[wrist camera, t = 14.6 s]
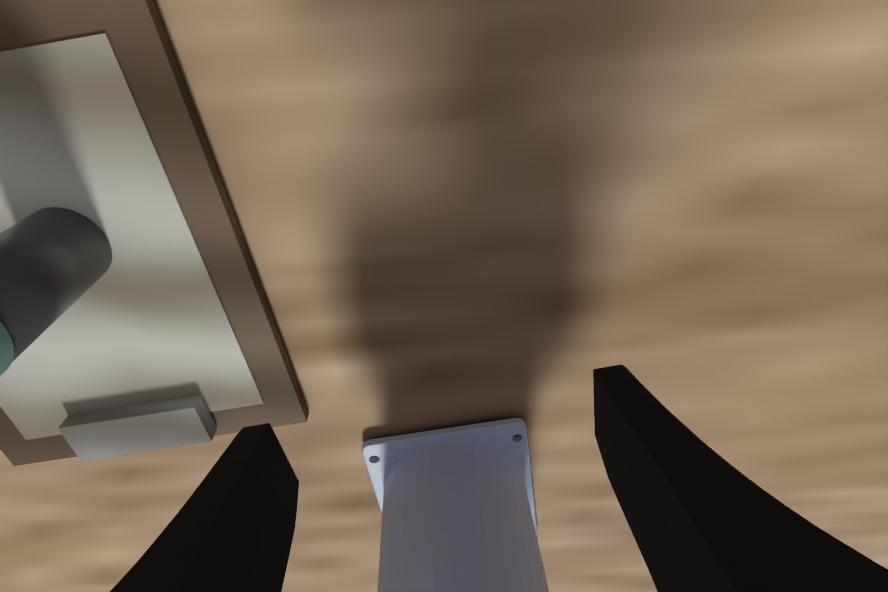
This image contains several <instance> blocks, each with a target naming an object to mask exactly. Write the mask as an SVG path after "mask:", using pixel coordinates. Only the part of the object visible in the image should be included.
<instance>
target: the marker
mask: <svg viewBox="0 0 888 592" xmlns="http://www.w3.org/2000/svg"><path fill="white" fill-rule="evenodd" d="M111 262H112V249H111V246H110V243H109V241H108V239H107V237H106V235H105V234H104V233H103V231H102V230H101V229H100V228H99V227H98V226H97V225H96V224H95V223H94V222H93V221H91V220H90V219H89V218H87V217H85V216H84V215H82V214H80V213H78V212H76V211H73V210H70V209H66V208H60V207H48V208H43V209H40V210H37V211H36V212H34V213H32V214H31V215H29V216H27V217H26V218H24V219H23V220H21V221H19V222H18V223H16V224H14V225H13V226H11V227H10V228H8V229H6V230H5V231H3V232H2V233H0V376H1V375H2V374H3V373H4V372H5V371H6V370H7V369H8V368H9V367H10V365H11V363H12V362H13V361H14V360H15V359H16V358H17V357H18V356H19V355H20V354H21V353H22V352H23V351H24V350H25V349H26V348H28V347H29V346H30V345H31V344H32V343H33V342H34V341H35V340H36V339H37V338H38V337H39V336H40V335H41V334H42V333H43V332H44V331H45V330H46V329H47V328H48V327H49V326H51V325H52V324H53V323H54V322H55V321H56V320H57V319H58V318H59V317H60V316H61V315H62V314H63V313H64V312H65V311H66V310H67V309H68V308H69V307H70V306H71V305H72V304H73V303H75V302H76V301H77V300H78V299H79V298H80V297H81V296H82V295H83V294H84V293H85V292H86V291H87V290H88V289H89V288H90V287H91V286H92V285H93V284H94V283H95V282H96V281H98V280H99V279H100V278H101V277H102V276H103V275H104V274H105V273H106V272H107V271H108V269H109V267H110V265H111Z"/></svg>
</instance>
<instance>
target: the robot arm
mask: <svg viewBox="0 0 888 592" xmlns="http://www.w3.org/2000/svg"><path fill="white" fill-rule="evenodd" d="M593 378H594V417H595V436H596V440H597V443H598V446H599V449H600V453H601V456H602V459H603V462H604V466H605V469H606V472H607V475H608V478H609V480H610V483H611V485H612V487H613V490H614V492H615V494H616V497H617V499H618V501H619V504H620V506H621V508H622V510H623V513H624V515H625V517H626V520H627V522H628V524H629V526H630V529H631V531H632V533H633V535H634V538H635V540H636V542H637V544H638V547H639V549H640V551H641V554H642V556H643V558H644V560H645V563H646V565H647V567H648V569H649V572H650V574H651V576H652V579H653V581H654V584H655V586H656V589H657V591H658V592H888V569H886V568H884V567H882V566H881V565H879V564H877V563H876V562H874V561H872V560H871V559H869V558H867V557H866V556H864V555H862V554H861V553H859V552H857V551H856V550H854V549H853V548H851V547H849V546H848V545H846V544H844V543H843V542H841V541H839V540H838V539H836V538H834V537H833V536H831V535H830V534H828V533H826V532H825V531H823V530H821V529H820V528H818V527H817V526H815V525H814V524H812V523H811V522H809V521H808V520H806V519H805V518H803V517H802V516H800V515H799V514H797V513H796V512H794V511H793V510H791V509H790V508H788V507H787V506H785V505H784V504H783V503H781V502H780V501H778V500H777V499H776V498H774V497H773V496H771V495H770V494H769V493H767V492H766V491H764V490H763V489H762V488H760V487H759V486H758V485H756V484H755V483H754V482H752V481H751V480H750V479H748V478H747V477H746V476H744V475H743V474H742V473H741V472H739V471H738V470H737V469H735V468H734V467H733V466H732V465H730V464H729V463H728V462H727V461H726V460H724V459H723V458H722V457H721V456H719V455H718V454H717V453H716V452H714V451H713V450H712V449H711V448H710V447H709V446H707V445H706V444H705V443H704V442H703V441H702V440H700V439H699V438H698V437H697V436H696V435H695V434H694V433H693V432H692V431H690V430H689V429H688V428H687V427H686V426H685V425H684V424H683V423H682V422H680V421H679V420H678V419H677V418H676V417H675V416H674V415H673V414H672V413H671V412H670V411H669V410H667V409H666V408H665V407H664V406H663V405H662V404H661V403H660V402H659V401H658V400H657V399H656V398H655V397H654V396H653V395H652V394H651V393H650V392H649V391H648V390H647V389H646V388H645V387H644V386H643V385H642V384H641V383H640V382H639V381H638V380H637V378H636V377H635V376H634V375H633V374H632V373H631V372H630V371H629V370H628V369H627V368H626V367H624V366H623V365H616V366H610V367H604V368H598V369H593ZM517 434H519V436H514V435H517ZM362 454H363V458H364V461H365V464H366V467H367V470H368V473H369V476H370V479H371V482H372V485H373V488H374V491H375V494H376V498H377V501H378V504H379V507H380V510H381V513H382V526H381V543H380V560H379V577H378V592H549V589H548V585H547V580H546V576H545V571H544V567H543V562H542V558H541V553H540V549H539V544H538V536H537V526H536V516H535V506H534V496H533V486H532V476H531V466H530V456H529V446H528V437H527V428H526V424H525V421H523V420H522V419H520V418H511V419H505V420H498V421H491V422H485V423H478V424H471V425H464V426H458V427H451V428H444V429H437V430H431V431H424V432H417V433H411V434H404V435H397V436H390V437H384V438H377V439H370V440H367V441H365V442H364V443H363V445H362ZM372 456H378V457H372ZM298 487H299V481H298V479H297V477H296V475H295V473H294V471H293V469H292V467H291V465H290V463H289V461H288V459H287V457H286V455H285V453H284V451H283V449H282V447H281V445H280V443H279V441H278V439H277V437H276V435H275V433H274V431H273V429H272V427H271V425H270V423H266V424H260V425H254V426H248V427H243V428H242V429H241V431H240V432H239V433H238V434H237V436H236V437H235V438H234V440H233V441H232V442H231V444H230V445H229V446H228V448H227V449H226V450H225V452H224V453H223V454H222V456H221V457H220V458H219V460H218V461H217V462H216V464H215V465H214V466H213V468H212V469H211V470H210V472H209V473H208V474H207V476H206V477H205V478H204V480H203V481H202V482H201V484H200V485H199V486H198V488H197V489H196V490H195V492H194V493H193V494H192V495H191V497H190V498H189V499H188V501H187V502H186V503H185V505H184V506H183V507H182V508H181V510H180V511H179V512H178V514H177V515H176V516H175V517H174V518H173V520H172V521H171V522H170V523H169V524H168V526H167V527H166V528H165V529H164V530H163V532H162V533H161V534H160V535H159V537H158V538H157V539H156V540H155V541H154V543H153V544H152V545H151V546H150V547H149V549H148V550H147V551H146V552H145V553H144V555H143V556H142V557H141V558H140V559H139V560H138V561H137V563H136V564H135V565H134V566H133V567H132V568H131V569H130V570H129V572H128V573H127V574H126V575H125V576H124V577H123V578H122V579H121V580H120V581H119V583H118V584H117V585H116V586H115V587H114V588H113V589H112V590H111V591H110V592H281V590H282V586H283V581H284V576H285V572H286V567H287V563H288V558H289V553H290V549H291V544H292V539H293V534H294V529H295V521H296V512H297V500H298Z"/></svg>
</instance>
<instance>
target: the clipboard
mask: <svg viewBox="0 0 888 592" xmlns="http://www.w3.org/2000/svg"><path fill="white" fill-rule="evenodd" d="M48 207H60V208H66V209H70V210H73V211H76V212H78V213H80V214H82V215H84V216H85V217H87V218H89V219H90V220H91V221H93V222H94V223H95V224H96V225H97V226H98V227H99V228H100V229H101V230H102V231H103V233H104V234H105V235H106V237H107V239H108V241H109V243H110V246H111V249H112V262H111V265H110V267H109V269H108V271H107V272H106V273H105V274H104V275H103V276H102V277H101V278H100V279H99V280H98V281H96V282H95V283H94V284H93V285H92V286H91V287H90V288H89V289H88V290H87V291H86V292H85V293H84V294H83V295H82V296H81V297H80V298H79V299H78V300H77V301H76V302H75V303H73V304H72V305H71V306H70V307H69V308H68V309H67V310H66V311H65V312H64V313H63V314H62V315H61V316H60V317H59V318H58V319H57V320H56V321H55V322H54V323H53V324H52V325H51V326H49V327H48V328H47V329H46V330H45V331H44V332H43V333H42V334H41V335H40V336H39V337H38V338H37V339H36V340H35V341H34V342H33V343H32V344H31V345H30V346H29V347H28V348H26V349H25V350H24V351H23V352H22V353H21V354H20V355H19V356H18V357H17V358H16V359H15V360H14V361H13V362H12V363H11V365H10V367H9V368H8V369H7V370H6V371H5V372H4V373H3V374H2V375H1V376H0V449H1V450H2V452H3V453H4V454H5V455H6V457H7V458H8V459H9V460H10V462H11V463H12V464H13V465H14V466H17V465H23V464H30V463H37V462H43V461H50V460H57V459H63V458H70V457H77V456H78V458H79V459H80V460H81V461H84V460H90V459H97V458H104V457H110V456H117V455H124V454H130V453H137V452H144V451H150V450H157V449H164V448H170V447H177V446H183V445H190V444H197V443H203V442H210V441H212V439H213V437H214V436H216V435H223V434H229V433H236V432H240V431H241V429H242V428H243V427H248V426H254V425H260V424H266V423H270V425H271V427H276V426H283V425H289V424H296V423H303V422H307V419H308V415H309V412H308V409H307V406H306V404H305V401H304V398H303V396H302V393H301V390H300V388H299V385H298V383H297V380H296V377H295V375H294V372H293V369H292V367H291V364H290V361H289V359H288V356H287V353H286V351H285V348H284V345H283V343H282V340H281V337H280V335H279V332H278V329H277V327H276V324H275V321H274V319H273V316H272V313H271V311H270V308H269V305H268V303H267V300H266V297H265V295H264V292H263V289H262V287H261V284H260V281H259V279H258V276H257V273H256V271H255V268H254V265H253V263H252V260H251V257H250V255H249V252H248V250H247V247H246V244H245V242H244V239H243V236H242V234H241V231H240V228H239V226H238V223H237V220H236V218H235V215H234V212H233V210H232V207H231V204H230V202H229V199H228V196H227V194H226V191H225V188H224V186H223V183H222V180H221V178H220V175H219V172H218V170H217V167H216V164H215V162H214V159H213V156H212V154H211V151H210V148H209V146H208V143H207V140H206V138H205V135H204V132H203V130H202V127H201V124H200V122H199V119H198V117H197V114H196V111H195V109H194V106H193V103H192V101H191V98H190V95H189V93H188V90H187V87H186V85H185V82H184V79H183V77H182V74H181V71H180V69H179V66H178V63H177V61H176V58H175V55H174V53H173V50H172V47H171V45H170V42H169V39H168V37H167V34H166V31H165V29H164V26H163V23H162V21H161V18H160V15H159V13H158V10H157V7H156V5H155V2H154V0H0V233H2V232H3V231H5V230H6V229H8V228H10V227H11V226H13V225H14V224H16V223H18V222H19V221H21V220H23V219H24V218H26V217H27V216H29V215H31V214H32V213H34V212H36V211H37V210H40V209H43V208H48Z"/></svg>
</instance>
